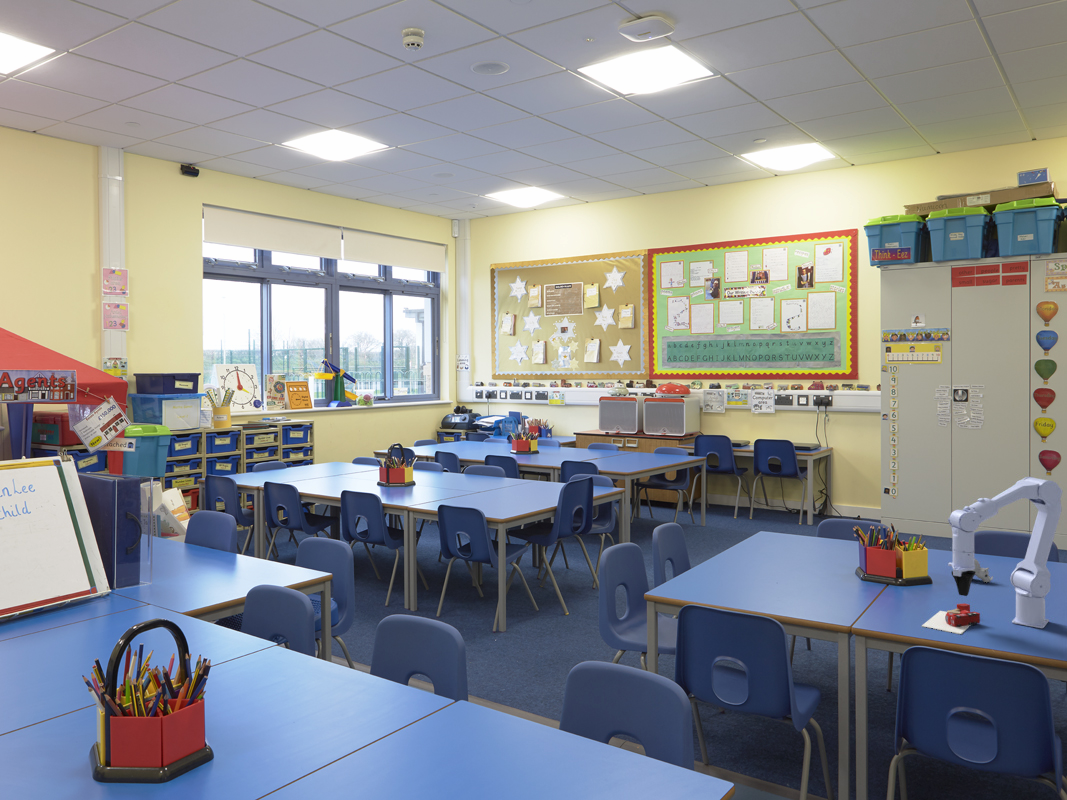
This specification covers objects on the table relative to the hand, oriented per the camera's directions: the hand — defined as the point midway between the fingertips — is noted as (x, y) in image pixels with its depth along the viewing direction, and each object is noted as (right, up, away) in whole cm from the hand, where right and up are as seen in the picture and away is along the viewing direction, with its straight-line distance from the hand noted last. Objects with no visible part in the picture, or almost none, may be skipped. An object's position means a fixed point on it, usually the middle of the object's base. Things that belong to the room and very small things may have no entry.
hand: (963, 595), depth 226 cm
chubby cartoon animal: (+31, -8, +48) cm, 58 cm away
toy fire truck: (+2, -7, -1) cm, 8 cm away
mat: (-3, -9, +3) cm, 10 cm away
